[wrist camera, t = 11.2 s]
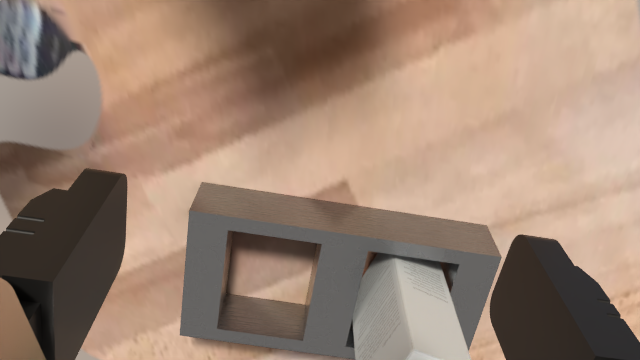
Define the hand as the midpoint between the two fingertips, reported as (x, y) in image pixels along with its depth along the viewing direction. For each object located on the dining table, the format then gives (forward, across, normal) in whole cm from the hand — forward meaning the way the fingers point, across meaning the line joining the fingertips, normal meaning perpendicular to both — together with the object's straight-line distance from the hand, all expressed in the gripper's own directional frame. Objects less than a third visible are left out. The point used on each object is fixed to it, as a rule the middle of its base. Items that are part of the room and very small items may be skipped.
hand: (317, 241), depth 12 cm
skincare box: (+25, -9, +18) cm, 32 cm away
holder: (+25, -4, +18) cm, 31 cm away
